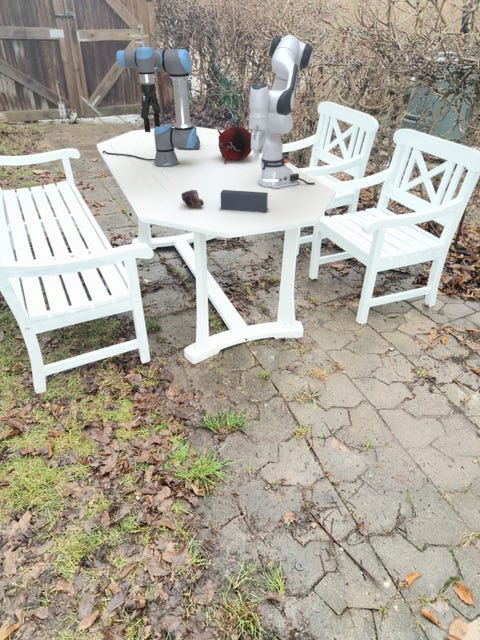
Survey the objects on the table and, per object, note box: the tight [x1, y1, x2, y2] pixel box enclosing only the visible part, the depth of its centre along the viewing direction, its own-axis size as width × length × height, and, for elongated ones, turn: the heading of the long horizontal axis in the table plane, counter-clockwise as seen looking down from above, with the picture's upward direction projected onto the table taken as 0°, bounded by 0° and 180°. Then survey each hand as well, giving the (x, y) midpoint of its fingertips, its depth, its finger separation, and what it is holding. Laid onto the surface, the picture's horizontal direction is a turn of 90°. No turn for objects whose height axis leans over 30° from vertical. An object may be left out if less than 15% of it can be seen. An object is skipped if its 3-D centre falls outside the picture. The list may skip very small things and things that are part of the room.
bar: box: [220, 189, 268, 213], centre depth 224 cm, size 23×5×8 cm, turn 78°
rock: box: [181, 189, 205, 208], centre depth 227 cm, size 12×9×10 cm
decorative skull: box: [217, 125, 252, 165], centre depth 297 cm, size 21×24×25 cm
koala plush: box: [180, 120, 201, 150], centre depth 324 cm, size 17×18×20 cm
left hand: (152, 129), depth 234 cm, fingers open, 13 cm apart
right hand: (258, 155), depth 210 cm, fingers open, 8 cm apart
